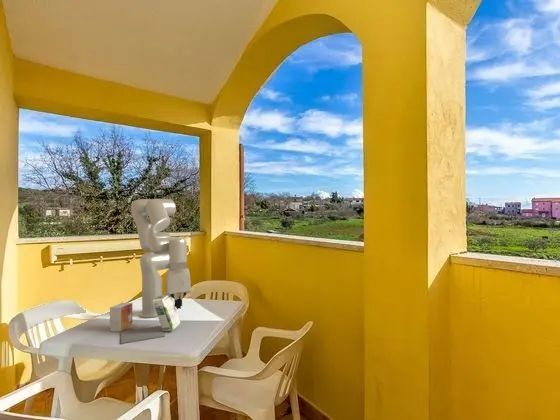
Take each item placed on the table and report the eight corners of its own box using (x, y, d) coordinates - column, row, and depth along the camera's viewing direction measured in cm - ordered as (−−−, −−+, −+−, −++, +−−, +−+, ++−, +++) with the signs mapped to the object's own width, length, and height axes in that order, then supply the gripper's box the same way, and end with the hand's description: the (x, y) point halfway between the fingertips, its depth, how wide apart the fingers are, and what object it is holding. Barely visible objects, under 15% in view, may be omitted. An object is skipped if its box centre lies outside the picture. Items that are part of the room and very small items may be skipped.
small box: (120, 332, 138) (120, 307, 138) (109, 331, 139) (109, 307, 139) (132, 326, 146) (132, 302, 146) (122, 325, 147) (122, 302, 147)
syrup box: (162, 331, 138) (151, 301, 135) (171, 323, 143) (160, 294, 141) (173, 330, 136) (161, 299, 133) (181, 322, 141) (170, 292, 139)
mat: (121, 332, 137) (121, 331, 137) (161, 326, 144) (161, 325, 144) (121, 344, 124) (121, 342, 124) (164, 336, 131) (164, 335, 131)
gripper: (161, 268, 134) (161, 312, 134) (196, 265, 141) (197, 307, 141) (159, 266, 141) (159, 308, 141) (193, 263, 148) (193, 303, 147)
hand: (178, 308), depth 141 cm, fingers closed
